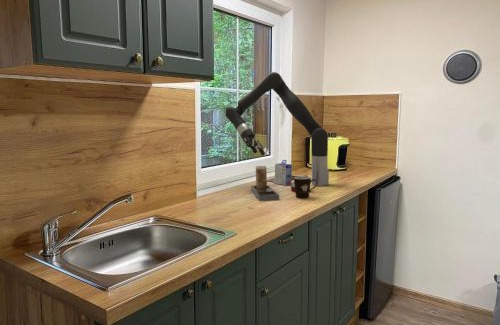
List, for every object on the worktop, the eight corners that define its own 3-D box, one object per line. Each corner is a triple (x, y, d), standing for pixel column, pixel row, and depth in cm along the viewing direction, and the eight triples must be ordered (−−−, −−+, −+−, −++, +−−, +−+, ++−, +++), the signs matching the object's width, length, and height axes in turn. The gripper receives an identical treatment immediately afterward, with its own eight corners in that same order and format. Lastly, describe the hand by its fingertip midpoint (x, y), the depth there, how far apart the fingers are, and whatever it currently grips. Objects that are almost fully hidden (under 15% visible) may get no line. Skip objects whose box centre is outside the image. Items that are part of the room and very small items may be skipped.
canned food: (308, 200, 200) (309, 186, 195) (289, 198, 202) (290, 184, 197) (309, 187, 209) (311, 173, 204) (292, 185, 211) (292, 171, 205)
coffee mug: (292, 198, 185) (292, 179, 183) (294, 195, 193) (294, 176, 192) (316, 199, 182) (316, 179, 181) (317, 195, 190) (317, 176, 189)
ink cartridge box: (292, 184, 222) (292, 160, 220) (285, 185, 219) (285, 161, 217) (280, 182, 230) (280, 159, 228) (274, 183, 226) (274, 160, 225)
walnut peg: (265, 190, 206) (264, 165, 204) (266, 192, 201) (266, 166, 199) (256, 191, 205) (255, 166, 203) (257, 192, 200) (257, 167, 199)
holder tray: (268, 189, 209) (268, 185, 209) (279, 199, 183) (279, 194, 183) (251, 190, 207) (250, 186, 207) (259, 200, 182) (259, 195, 182)
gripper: (243, 126, 209) (258, 147, 202) (256, 130, 221) (270, 150, 214) (234, 135, 212) (248, 156, 205) (247, 139, 224) (261, 159, 217)
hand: (260, 153), depth 210 cm, fingers open, 8 cm apart
